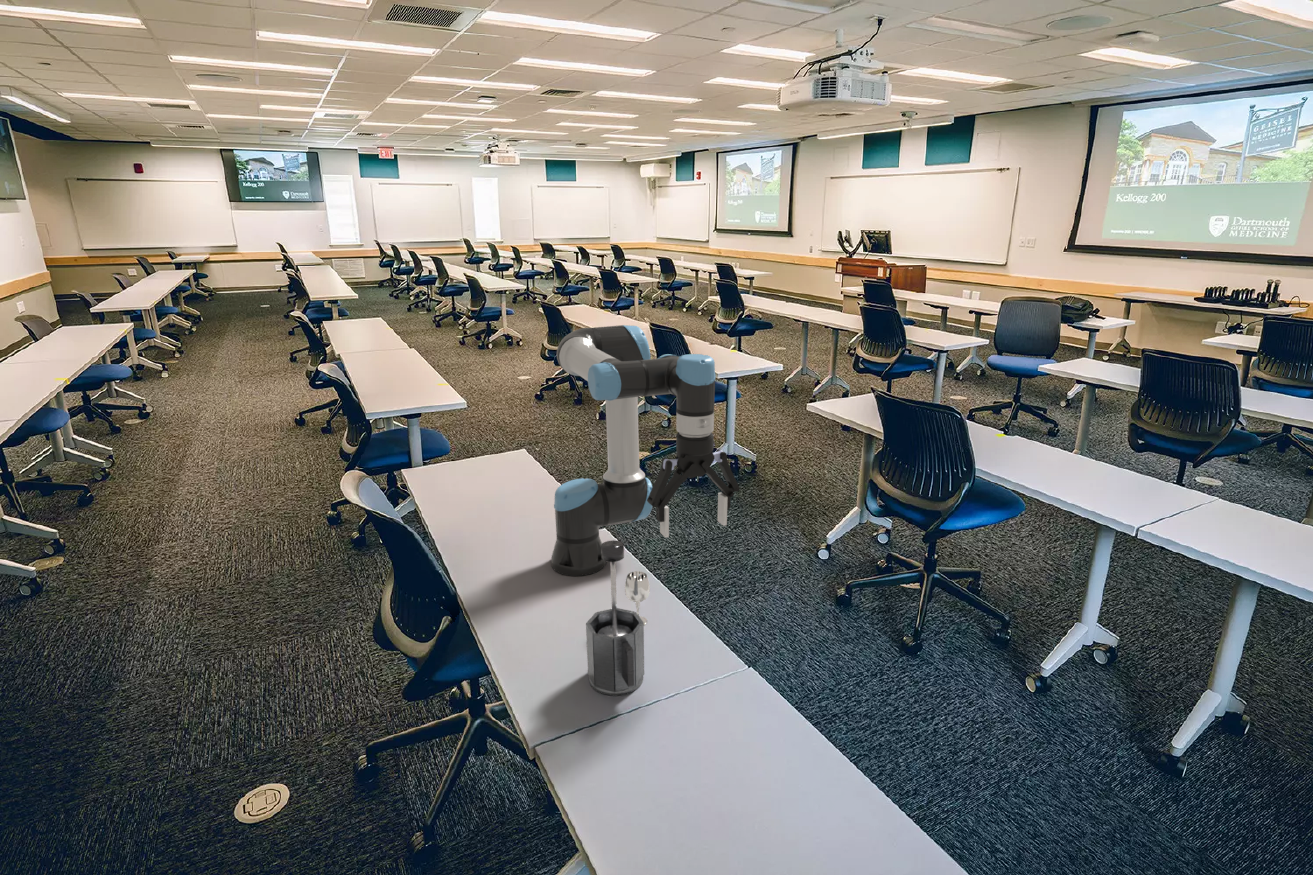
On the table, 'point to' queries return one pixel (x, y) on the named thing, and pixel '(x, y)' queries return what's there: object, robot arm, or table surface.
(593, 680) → the octagonal container
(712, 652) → the table surface
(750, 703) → the table surface
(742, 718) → the table surface
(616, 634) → the plunger
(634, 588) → the wineglass
